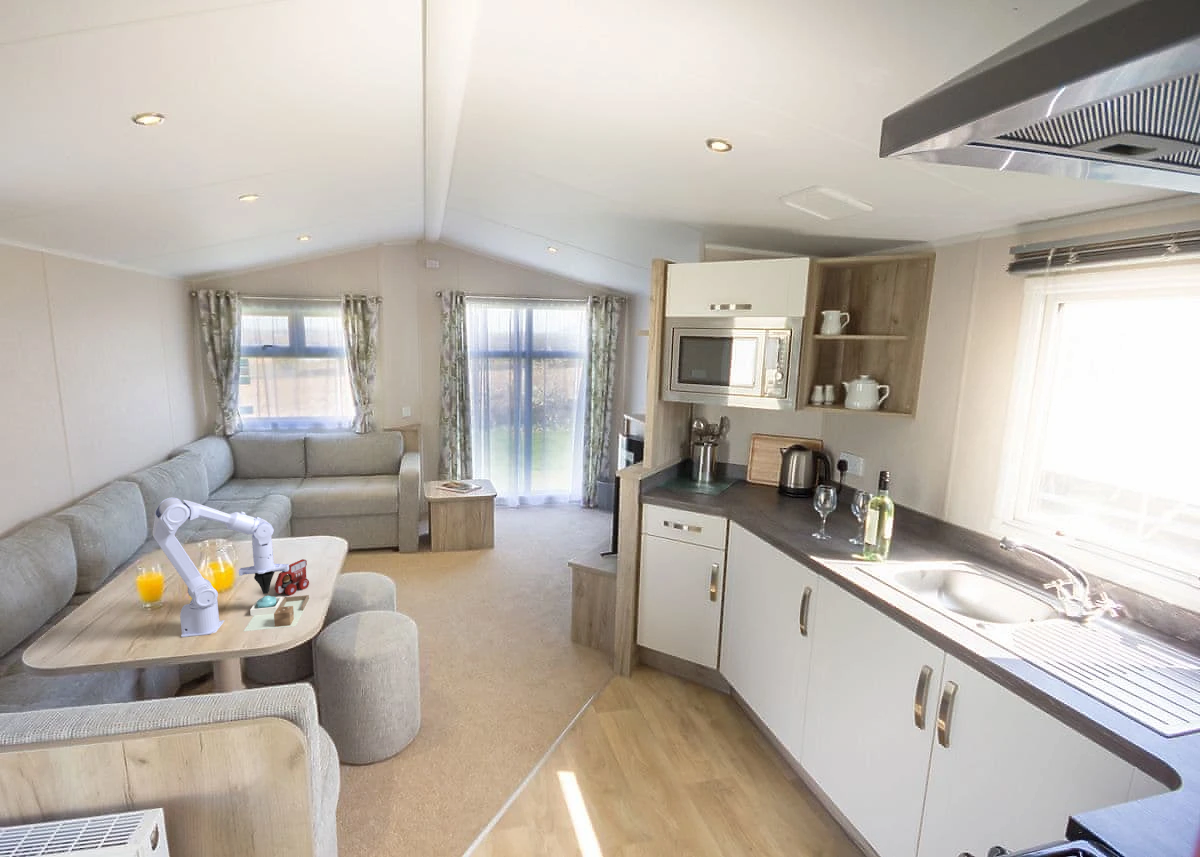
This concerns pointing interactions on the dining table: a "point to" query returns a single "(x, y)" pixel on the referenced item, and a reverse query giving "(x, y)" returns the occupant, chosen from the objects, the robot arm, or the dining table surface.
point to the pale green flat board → (265, 616)
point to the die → (283, 616)
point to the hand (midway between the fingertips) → (266, 592)
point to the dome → (266, 602)
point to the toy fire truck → (292, 578)
